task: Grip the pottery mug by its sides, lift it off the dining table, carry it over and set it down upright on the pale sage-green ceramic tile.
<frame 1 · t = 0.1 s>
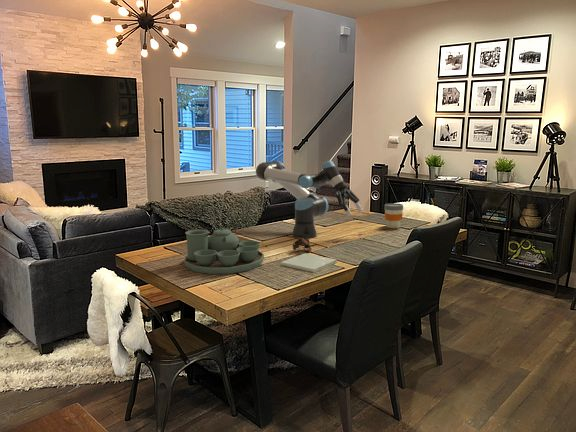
hand: (356, 213, 280), 15 cm above the table, tool tilted 35°, fingers open, 13 cm apart
pottery mug: (303, 251, 255), on the table
tea set: (225, 263, 235), on the table
sage tile: (309, 263, 231), on the table
reusable coffee cup: (393, 226, 314), on the table
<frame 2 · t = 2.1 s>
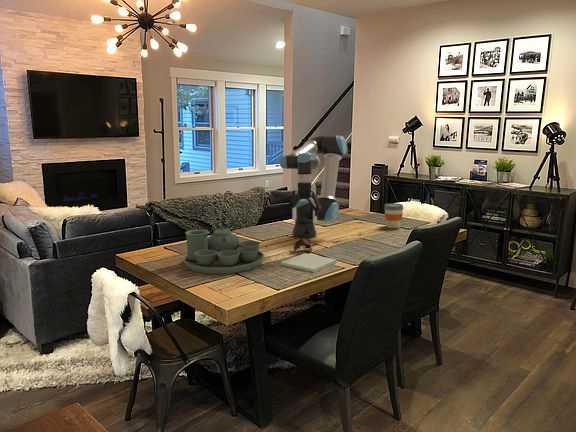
hand: (304, 220, 252), 17 cm above the table, tool pointing down, fingers open, 13 cm apart
nothing on the table moved.
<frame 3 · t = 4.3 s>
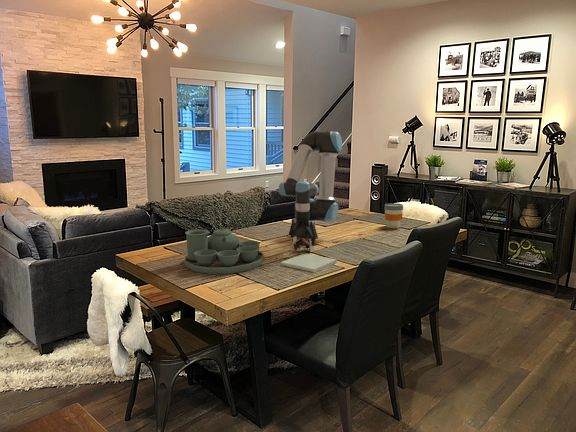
hand: (303, 249, 255), 1 cm above the table, tool pointing down, fingers open, 11 cm apart
pottery mug: (303, 251, 255), on the table, touching gripper
everything else where it was.
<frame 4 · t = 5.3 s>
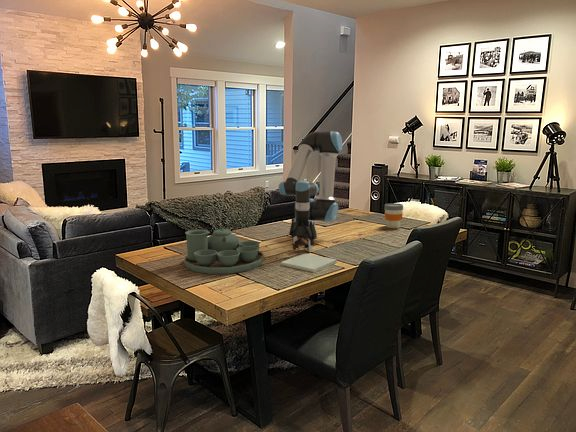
hand: (302, 249, 255), 1 cm above the table, tool pointing down, fingers closed on pottery mug, 10 cm apart
pottery mug: (302, 251, 255), on the table, touching gripper
everything else where it was.
when the fingers open (3 cm above the table, at t = 11.7 s): pottery mug moves 1 cm, resting on sage tile.
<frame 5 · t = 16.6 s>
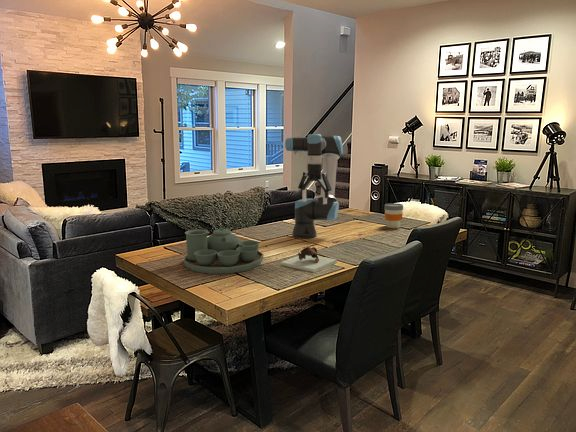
hand: (314, 202, 250), 27 cm above the table, tool pointing down, fingers open, 13 cm apart
pottery mug: (309, 261, 231), point 1 cm above the table, touching sage tile
everything else where it was.
at the end: pottery mug inside the target area on the sage tile (0.5 cm from its centre), point 1.3 cm above the sage tile's base; pottery mug tilted 1°; the gripper is holding nothing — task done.
